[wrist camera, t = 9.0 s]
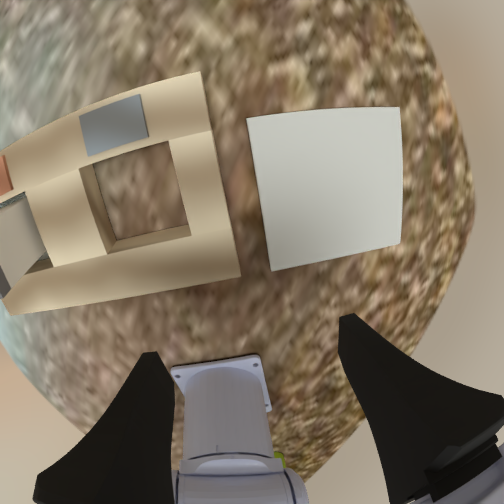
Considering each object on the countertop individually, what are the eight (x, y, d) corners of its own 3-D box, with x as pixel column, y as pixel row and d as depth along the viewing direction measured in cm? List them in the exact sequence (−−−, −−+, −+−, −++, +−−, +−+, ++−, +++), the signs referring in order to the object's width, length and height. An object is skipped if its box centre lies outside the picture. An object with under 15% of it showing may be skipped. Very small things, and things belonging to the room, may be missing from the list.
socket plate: (238, 260, 20) (241, 279, 17) (20, 302, 19) (9, 317, 17) (202, 76, 14) (199, 70, 12) (-30, 176, 14) (-48, 184, 11)
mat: (396, 240, 20) (400, 243, 20) (270, 267, 20) (271, 271, 20) (395, 107, 16) (399, 107, 15) (245, 118, 15) (246, 118, 15)
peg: (53, 243, 17) (3, 298, 11) (19, 253, 17) (-29, 304, 11) (35, 192, 15) (-27, 232, 9) (2, 207, 15) (-55, 247, 9)
